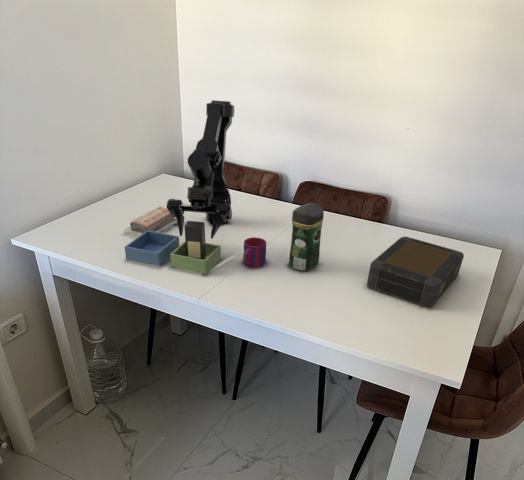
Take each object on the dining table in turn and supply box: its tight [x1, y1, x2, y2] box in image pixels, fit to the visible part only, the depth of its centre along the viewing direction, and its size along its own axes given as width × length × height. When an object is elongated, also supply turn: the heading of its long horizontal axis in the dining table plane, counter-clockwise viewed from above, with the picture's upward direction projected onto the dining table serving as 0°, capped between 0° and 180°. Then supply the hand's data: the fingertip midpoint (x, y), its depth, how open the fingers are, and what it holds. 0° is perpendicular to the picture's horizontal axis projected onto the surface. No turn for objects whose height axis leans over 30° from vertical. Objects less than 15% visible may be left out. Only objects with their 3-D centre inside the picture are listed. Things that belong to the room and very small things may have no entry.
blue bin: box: [124, 230, 180, 267], centre depth 152 cm, size 13×11×5 cm
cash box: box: [366, 236, 465, 308], centre depth 143 cm, size 25×20×8 cm
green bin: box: [169, 241, 222, 276], centre depth 148 cm, size 11×11×5 cm
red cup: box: [242, 236, 267, 269], centre depth 148 cm, size 7×10×7 cm
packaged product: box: [123, 206, 178, 238], centre depth 167 cm, size 18×5×10 cm
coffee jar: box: [288, 202, 325, 272], centre depth 146 cm, size 10×8×19 cm
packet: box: [183, 220, 206, 260], centre depth 145 cm, size 4×5×12 cm
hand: (196, 236), depth 145 cm, fingers open, 9 cm apart
